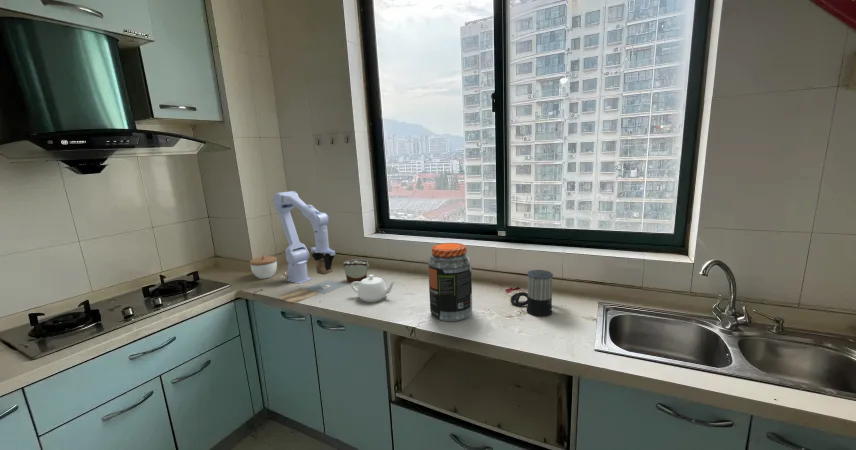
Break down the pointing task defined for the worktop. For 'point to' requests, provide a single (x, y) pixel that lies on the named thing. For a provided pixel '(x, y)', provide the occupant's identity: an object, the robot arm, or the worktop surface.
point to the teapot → (372, 289)
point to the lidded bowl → (264, 266)
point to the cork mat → (297, 296)
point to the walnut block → (322, 267)
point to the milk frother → (537, 293)
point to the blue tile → (326, 286)
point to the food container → (355, 270)
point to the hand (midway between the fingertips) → (324, 268)
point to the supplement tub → (450, 282)
